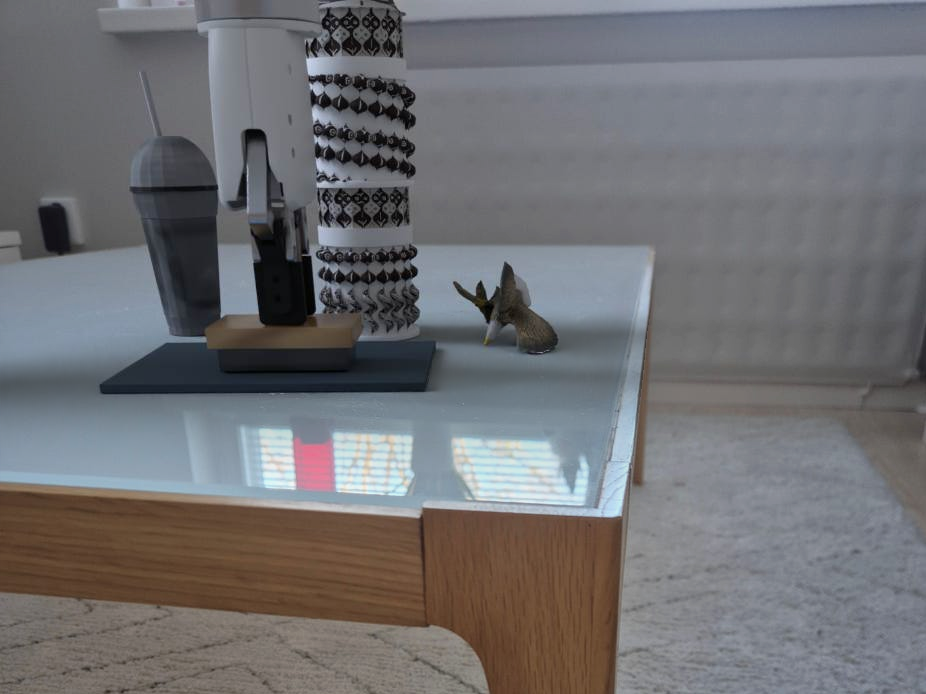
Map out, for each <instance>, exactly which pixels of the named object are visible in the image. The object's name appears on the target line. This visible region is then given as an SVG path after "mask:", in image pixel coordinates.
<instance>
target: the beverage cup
mask: <svg viewBox="0 0 926 694" xmlns="http://www.w3.org/2000/svg"><path fill="white" fill-rule="evenodd" d="M138 74H139V77H140V81H141V85H142V86H141V87H142V89H143V94H144V97H145V100H146V104H147V108H148V112H149V116H150V120H151V124H152V128H153V132H154V135H153V136H151V137H149V138H148V139H146V140H145V141H144V142H142V143H141V145H139V147H138V148H137V150H136V152H135V154H134V155H133V158H132V161H131V165H130V171H129V182H130V186H129V192H130V193H132V194H131V195H132V198H133V203H134V207H135V209H136V212H137V215H138V217H139V218H140V220H141V225H142V228H143V233H144V237H145V241H146V245H147V249H148V253H149V257H150V263H151V266H152V271H153V274H154V278H155V282H156V286H157V291H158V294H159V295H158V296H159V299H160V303H161V307H162V311H163V315H164V316H165V317H164V318H165V320H166V324H167V326H168V332H169V334H170V335H171V336H172V335H173V336H179V337H180V336H181V337H196V336H197V337H199V336H206V334H205V329H206V328H207V327H208V326H210V325H211V324H213V323H214V322H216V321H217V320H219V319H220V318H222V317H221V314H222V303H221V302H222V301H221V285H220V284H221V283H220V263H219V242H218V241H219V240H218V224H217V223H218V222H217V221H218V220H217V216H218V211H219V192H218V191H219V190H218V182H217V177H216V175H215V171H214V168H213V166H212V164H211V162H210V160H209V158H208V157H207V156H206V154H205V153H204V152H203V150H202V149H201V148H200V147H199V146H198V145H196V144H195V143H194V142H193V141H191V140H189V139H188V138H186V137H184V136H182V135H163V134H162V133H163V132H162V130H161V127H160V121H159V119H158V113H157V111H156V110H157V109H156V107H155V102H154V98H153V95H152V91H151V87H150V83H149V79H148V76H147V72H146V70H142V71H141V70H140V71H138Z"/></svg>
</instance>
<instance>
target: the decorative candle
mask: <svg viewBox="0 0 926 694" xmlns="http://www.w3.org/2000/svg"><path fill="white" fill-rule="evenodd" d="M318 1H319V14H320V26H321V36H319V37H318V38H313V39H305V40H304V42H305V51H306V60H307V70H308V74H309V89H310V99H311V109H312V119H313V131H314V144H315V158H316V176H317V194H316V198H317V209H318V220H319V225H317V235H318V237H317V238H318V245H320V246H321V247H319V248H318V249H317V250H316V251H315V257H316V259H318V260H319V261H321V262H323V264H324V265H323V266H322V267H321V268H320V269H319V270H318V271H317V277H318V278H319V279H320V280H323V281H324V282H325V285H324V287H323V288H322V289H321V290H320V292H319V293H318V299H319V301H320V302H321V303H322V305H324V306H325V307H324V308H323V309H322V311H321V312H320V314H327V313H361V316H362V331H363V332H362V334H361V335H360V337H359V339H358V340H357V341H406V340H409V339H412V338H415V337H418V336H419V335H420V326H419V325H417V324H415V323H416V321H418V320H419V319H420V314H421V310H420V308H419V307H418V306H417V305H416V303H417V301H418V300H419V298H420V290H419V289H418V288H417V287H416V286H415V284H414V283H413V282H412V280H413V279H414V278H417V276H418V275H419V274H418V273H419V269H418V267H416V265H413V263H412V262H411V261H412V260H414V259H415V258H416V257H417V255H418V253H419V250H418V248H416V247H415V246H414V245H412V244H413V243H414V235H413V233H414V232H413V223H411V218H410V195H409V191H410V187H414V186H415V180H414V178H412V177H414V176H415V175H416V173H417V169H416V166H415V165H414V164H413V163H411V162H410V161H409V158H410V157H411V156H413V155H414V153H415V152H416V145H415V144H414V143H413V142H411V141H410V140H409V139H408V137H407V138H406V131H408V132H407V133H408V134H409V132H410V129H412V128H413V127H415V125H416V124H417V117H416V116H415V114H413V113H412V112H411V111H410V110H409V108H410V107H412V105H414V103H415V101H416V99H417V97H416V94H415V92H414V91H412V90H411V88H409V86H408V85H405V84H406V82H407V81H408V77H407V76H408V75H407V60H406V59H405V58H404V35H403V34H404V33H403V17H407V13H406V12H405V11H401V10H400V9H399V8H398V7H397V5H396V3H395V2H394V0H318Z"/></svg>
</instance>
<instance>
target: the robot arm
mask: <svg viewBox="0 0 926 694" xmlns="http://www.w3.org/2000/svg"><path fill="white" fill-rule="evenodd" d="M193 3H194V12H195V19H196V20H195V21H196V24H197V25H196V26H197V34H198V36H200V37H201V38H207V39H208V40H207V41H208V42H207V45H208V46H207V47H208V48H207V50H208V52H207V54H208V56H207V57H208V81H209V97H210V98H209V99H210V110H211V122H212V124H211V125H212V135H213V145H214V157H215V167H216V168H215V169H216V181H217V184H218V190H217V191H218V199H219V202H220V203H221V205H222V206H223V207H224V208H225V209H226V210H227V211H229V212H240V211H242V210H243V211H244V210H246V217H247V222H248V225H249V234H250V245H251V255H252V266H253V275H254V284H255V292H256V301H257V311H258V314H259V319H260V322H261V323H262V324H263V325H302V324H304V323H305V322H306V321H307V316H311V315H313V314H316V312H317V302H316V292H315V280H314V270H313V268H314V267H313V259H312V255H310V253H311V251H310V250H311V246H310V237H309V236H310V235H309V226H308V218H307V208H306V207H307V206H309V205H310V204H312V203H313V201H315V200H316V198H317V176H316V166H317V165H316V157H315V144H314V131H313V119H312V107H311V99H310V89H309V86H310V82H309V74H308V70H307V60H306V48H305V39H313V38H318V37H319V36H321V26H320V14H319V1H318V0H193ZM295 227H298V228H299V234H300V244H301V255H302V262H297V250H296V237H295ZM283 230H284V233H283Z"/></svg>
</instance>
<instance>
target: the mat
mask: <svg viewBox="0 0 926 694" xmlns="http://www.w3.org/2000/svg"><path fill="white" fill-rule="evenodd" d="M436 349H437V341H436V340H399V341H357V342H356V357H355V359H354V361H353V363H352V364H351V366H350V368H349V369H348V370H336V371H233V372H221V371H220V368H219V360H218V353H217V350H208V348H207V341H204V342H203V341H200V342H199V341H198V342H196V341H195V342H190V341H189V342H188V341H187V342H183V341H182V342H164V343H163V344H162V345H160V346H158V347H157V348H155V349H154V350H152V351H151V352H149V353H147V354H146V355H143V357H141V358H139V359H138V360H136V361H134V362H132V363H131V364H130V365H128V366H126V367H125V368H123V369H122V370H120V371H118V372H117V373H115V374H113V375H112V376H109V378H107V379H106V380H104V381H103V382H101V383H99V384H98V387H99V393H101V394H169V393H170V394H175V393H177V394H178V393H182V394H184V393H185V394H186V393H190V394H191V393H301V392H302V393H304V392H305V393H306V392H309V393H311V392H312V393H313V392H315V393H317V392H319V393H320V392H323V393H324V392H425V391H426V388H427V385H428V380H429V377H430V373H431V368H432V365H433V361H434V357H435V353H436Z"/></svg>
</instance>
